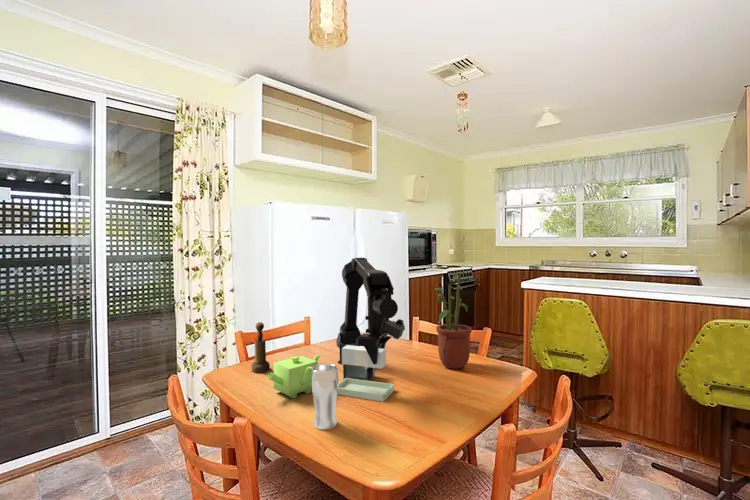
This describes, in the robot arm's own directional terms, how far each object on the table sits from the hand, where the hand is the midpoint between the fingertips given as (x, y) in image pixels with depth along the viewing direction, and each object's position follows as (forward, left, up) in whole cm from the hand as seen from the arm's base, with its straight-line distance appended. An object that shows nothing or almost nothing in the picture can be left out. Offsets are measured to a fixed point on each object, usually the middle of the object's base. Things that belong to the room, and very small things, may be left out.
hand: (377, 362), depth 119 cm
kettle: (-25, -7, -10) cm, 28 cm away
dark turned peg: (-50, +6, -10) cm, 51 cm away
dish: (-5, 0, -10) cm, 11 cm away
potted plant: (+15, +34, -10) cm, 39 cm away
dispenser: (-11, +10, -10) cm, 18 cm away
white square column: (-5, 0, -1) cm, 5 cm away
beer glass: (-6, -23, -10) cm, 26 cm away
